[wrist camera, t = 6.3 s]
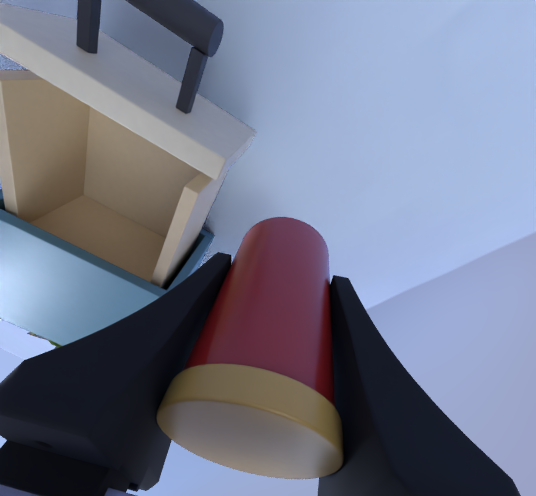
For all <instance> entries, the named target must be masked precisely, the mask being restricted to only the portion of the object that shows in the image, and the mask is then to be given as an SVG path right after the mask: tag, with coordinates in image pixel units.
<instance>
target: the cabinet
mask: <svg viewBox="0 0 536 496" xmlns="http://www.w3.org/2000/svg"><path fill="white" fill-rule="evenodd" d="M213 238H214V235H213V234H211V233H209V232H208V231H206V230H204V229H201V231H200V233H199V235H198V237H197V239H196V242H195V244H194V246H193V248H192V250H191V252H190V253H189V255H188V256H187V258H186V259H185V260H184V262H183V263H182V264H181V266H180V267H179V269H178V270H177V271H176V273H175V274H174V276H173V277H172V278H171V280H170V281H169V282H168V284H167V285H166V287H165V288H164V289H162V288H160V287H158V286H156V285H154V284H152V283H150V282H148V281H146V280H144V279H142V278H140V277H138V276H136V275H134V274H132V273H130V272H128V271H126V270H124V269H122V268H120V267H118V266H116V265H114V264H112V263H110V262H108V261H106V260H104V259H102V258H100V257H97V256H95V255H93V254H91V253H89V252H87V251H85V250H83V249H81V248H79V247H77V246H75V245H73V244H71V243H69V242H67V241H65V240H63V239H61V238H59V237H57V236H55V235H53V234H51V233H49V232H47V231H45V230H43V229H41V228H39V227H37V226H35V225H32V224H30V223H28V222H26V221H24V220H22V219H20V218H18V217H16V216H14V215H12V214H10V213H8V212H6V210H5V204H4V198H3V192H2V189H1V190H0V319H1V320H3V321H6V322H8V323H11V324H13V325H15V326H18V327H20V328H22V329H25V330H27V331H29V332H32V333H34V334H37V335H39V336H41V337H44V338H46V339H48V340H51V341H53V342H55V343H58V344H60V345H63V346H64V345H66V344H69V343H71V342H74V341H76V340H78V339H81V338H83V337H85V336H88V335H90V334H92V333H94V332H97V331H99V330H101V329H103V328H105V327H107V326H109V325H112V324H113V323H115V322H117V321H119V320H121V319H123V318H125V317H127V316H129V315H131V314H132V313H134V312H136V311H138V310H140V309H141V308H143V307H145V306H146V305H148V304H150V303H151V302H153V301H155V300H156V299H158V298H159V297H161V296H162V295H164V294H165V293H167V292H168V291H169V290H171V289H172V288H174V287H175V286H177V285H178V284H179V283H181V282H182V281H183V280H185V279H186V278H187V277H188V276H190V275H191V274H192V273H194V272H195V271H196V270H197V269H198V267H199V265H200V263H201V261H202V259H203V257H204V255H205V253H206V251H207V249H208V248H209V246H210V244H211V242H212V240H213Z"/></svg>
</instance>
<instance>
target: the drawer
mask: <svg viewBox="0 0 536 496" xmlns="http://www.w3.org/2000/svg"><path fill="white" fill-rule="evenodd" d="M126 1H127V2H129V3H130V4H132V5H133V6H134V7H136V8H137V9H139V10H140V11H142V12H143V13H145V14H146V15H148V16H149V17H151V18H152V19H154V20H155V21H157V22H158V23H160V24H161V25H163V26H164V27H166V28H167V29H168V30H170V31H171V32H173V33H174V34H176V35H177V36H179V37H180V38H182V39H183V40H185V41H186V42H188V43H189V44H191V45H192V46H194V47H192V48H191V52H190V55H189V59H188V63H187V66H186V70H185V74H184V78H183V81H182V83H181V82H179V81H178V80H176V79H175V78H173V77H172V76H170V75H168V74H167V73H165V72H164V71H162V70H161V69H159V68H158V67H156V66H154V65H153V64H151V63H150V62H148V61H147V60H145V59H144V58H142V57H141V56H139V55H137V54H136V53H134V52H133V51H131V50H130V49H128V48H127V47H125V46H123V45H122V44H120V43H119V42H117V41H116V40H114V39H113V38H111V37H109V36H108V35H106V34H105V33H103V32H102V31H100V30H99V24H100V11H101V0H78V12H77V19H74V18H69V17H64V16H60V15H55V14H51V13H46V12H41V11H37V10H32V9H27V8H23V7H18V6H13V5H9V4H4V3H0V53H1V54H2V55H4V56H6V57H8V58H9V59H11V60H13V61H14V62H16V63H18V64H19V65H21V66H23V67H25V68H26V69H28V70H0V180H1V186H2V192H3V198H4V204H5V210H6V212H8V213H10V214H12V215H14V216H16V217H18V218H20V219H22V220H24V221H26V222H28V223H30V224H32V225H35V226H37V227H39V228H41V229H43V230H45V231H47V232H49V233H51V234H53V235H55V236H57V237H59V238H61V239H63V240H65V241H67V242H69V243H71V244H73V245H75V246H77V247H79V248H81V249H83V250H85V251H87V252H89V253H91V254H93V255H95V256H97V257H100V258H102V259H104V260H106V261H108V262H110V263H112V264H114V265H116V266H118V267H120V268H122V269H124V270H126V271H128V272H130V273H132V274H134V275H136V276H138V277H140V278H142V279H144V280H146V281H148V282H150V283H152V284H154V285H156V286H158V287H160V288H162V289H164V288H165V287H166V285H167V284H168V282H169V281H170V280H171V278H172V277H173V276H174V274H175V273H176V271H177V270H178V269H179V267H180V266H181V264H182V263H183V262H184V260H185V259H186V258H187V256H188V255H189V253H190V252H191V250H192V248H193V246H194V244H195V242H196V239H197V237H198V235H199V233H200V231H201V229H202V226H203V224H204V222H205V220H206V218H207V215H208V213H209V211H210V209H211V207H212V205H213V202H214V200H215V198H216V196H217V194H218V192H219V189H220V187H221V185H222V183H223V181H224V179H225V176H226V174H227V172H228V170H229V168H230V167H231V166H232V165H233V164H234V163H235V161H236V160H237V159H238V158H239V157H240V156H241V155H242V154H243V153H244V152H245V151H246V150H247V149H248V148H249V147H250V145H251V143H252V141H253V139H254V137H255V135H256V131H255V130H254V129H252V128H251V127H249V126H248V125H246V124H245V123H243V122H241V121H240V120H238V119H237V118H235V117H234V116H232V115H231V114H229V113H227V112H226V111H224V110H223V109H221V108H220V107H218V106H217V105H215V104H213V103H212V102H210V101H209V100H207V99H206V98H204V97H203V96H201V95H200V94H198V93H197V91H198V87H199V84H200V81H201V78H202V75H203V71H204V68H205V65H206V62H207V58H208V57H212V56H213V55H214V54H215V53H216V51H217V49H218V47H219V45H220V42H221V39H222V35H223V27H224V26H223V22H222V20H221V19H219V18H218V17H216V16H215V15H214V14H212V13H211V12H209V11H208V10H206V9H205V8H204V7H202V6H201V5H199V4H198V3H197V2H195V1H194V0H126Z"/></svg>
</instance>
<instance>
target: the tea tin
mask: <svg viewBox="0 0 536 496" xmlns="http://www.w3.org/2000/svg"><path fill="white" fill-rule="evenodd" d="M156 419H157V423H158V425H159V427H160V428H161V430H162V431H163V432H164V433H165V434H166V435H167V436H168V437H169V438H170V439H172V440H173V441H174V442H176V443H177V444H179V445H180V446H181V447H183V448H185V449H187V450H188V451H190V452H192V453H194V454H196V455H198V456H200V457H203V458H205V459H207V460H210V461H212V462H215V463H218V464H220V465H223V466H226V467H230V468H232V469H236V470H239V471H243V472H247V473H252V474H257V475H262V476H268V477H275V478H285V479H311V478H318V477H323V476H327V475H330V474H332V473H334V472H336V471H337V470H339V469H340V467H341V466H342V464H343V460H344V447H343V431H342V421H341V418H340V416H339V413H338V411H337V410H336V408H335V391H334V368H333V345H332V322H331V300H330V277H329V255H328V248H327V245H326V243H325V241H324V239H323V237H322V236H321V235H320V234H319V233H318V232H317V231H316V230H315V229H314V228H313V227H311V226H310V225H308V224H307V223H305V222H303V221H300V220H297V219H293V218H287V217H275V218H270V219H266V220H263V221H261V222H259V223H257V224H255V225H254V226H253V227H252V228H251V229H250V230H249V231H248V232H247V233H246V235H245V237H244V238H243V241H242V243H241V245H240V247H239V249H238V251H237V254H236V256H235V258H234V260H233V262H232V264H231V267H230V269H229V271H228V273H227V275H226V277H225V280H224V282H223V284H222V286H221V288H220V290H219V293H218V295H217V297H216V299H215V301H214V303H213V306H212V308H211V310H210V312H209V314H208V316H207V319H206V321H205V323H204V325H203V327H202V329H201V332H200V334H199V336H198V338H197V340H196V342H195V344H194V347H193V349H192V351H191V353H190V355H189V357H188V360H187V362H186V364H185V366H184V368H183V370H182V372H180V373H179V374H177V375H176V376H175V377H174V378H173V379H172V381H171V383H170V385H169V387H168V389H167V391H166V393H165V395H164V397H163V399H162V401H161V404H160V406H159V408H158V410H157V415H156Z"/></svg>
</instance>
